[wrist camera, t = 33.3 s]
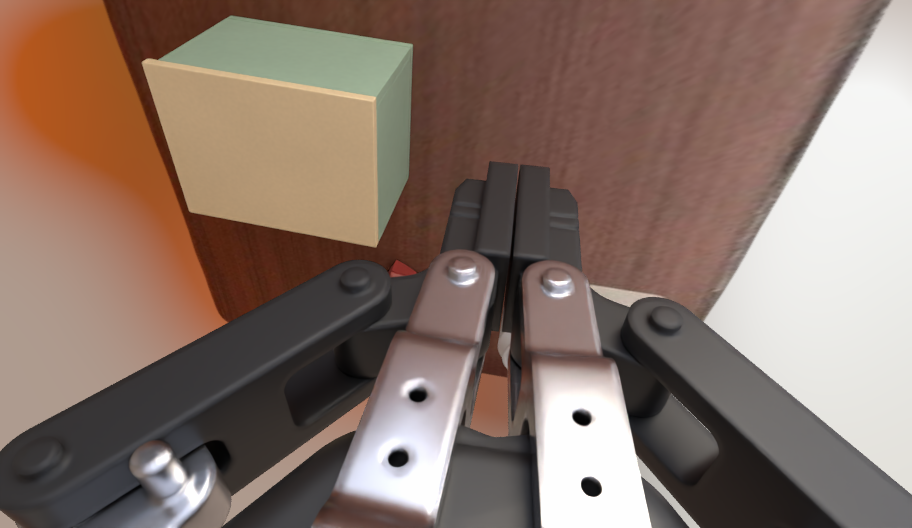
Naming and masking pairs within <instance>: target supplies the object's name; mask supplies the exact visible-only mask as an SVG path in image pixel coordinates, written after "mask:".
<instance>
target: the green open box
mask: <svg viewBox="0 0 912 528" xmlns="http://www.w3.org/2000/svg"><path fill="white" fill-rule="evenodd" d="M412 57H413V44H408V43H401V42H395V41H389V40H382V39H376V38H370V37H363V36H357V35H351V34H344V33H338V32H332V31H326V30H319V29H313V28H307V27H300V26H294V25H288V24H281V23H275V22H269V21H262V20H256V19H250V18H243V17H237V16H229V17H228V18H226V19H224V20H223V21H221V22H219V23H218V24H216V25H215V26H213V27H211V28H210V29H208V30H206V31H205V32H203V33H201V34H200V35H198V36H197V37H195V38H193V39H192V40H190V41H188V42H187V43H185V44H183V45H182V46H180V47H178V48H177V49H175V50H174V51H172V52H170V53H169V54H167V55H165V56H164V57H162V58H160V59H159V60H160V61H166V62H172V63H178V64H184V65H190V66H195V67H201V68H207V69H213V70H219V71H225V72H231V73H237V74H243V75H249V76H255V77H261V78H267V79H273V80H279V81H285V82H291V83H296V84H302V85H308V86H314V87H320V88H326V89H332V90H338V91H344V92H350V93H356V94H362V95H368V96H374V97H376V114H377V178H378V241H379V240H380V238H381V236H382V234H383V231H384V229H385V227H386V225H387V223H388V221H389V218H390V216H391V214H392V212H393V210H394V208H395V205H396V203H397V201H398V199H399V197H400V195H401V192H402V190H403V188H404V186H405V184H406V182H407V180H408V177H409V151H410V120H411V89H412Z"/></svg>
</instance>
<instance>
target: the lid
mask: <svg viewBox="0 0 912 528" xmlns="http://www.w3.org/2000/svg"><path fill="white" fill-rule="evenodd" d="M142 65H143V68H144V72H145V75H146V78H147V81H148V84H149V87H150V90H151V93H152V97H153V100H154V103H155V106H156V109H157V112H158V115H159V118H160V121H161V125H162V128H163V131H164V134H165V137H166V140H167V143H168V146H169V150H170V153H171V156H172V159H173V162H174V165H175V168H176V171H177V174H178V178H179V181H180V184H181V187H182V190H183V193H184V196H185V199H186V203H187V206H188V209H189V212H193V213H198V214H203V215H208V216H213V217H219V218H224V219H229V220H234V221H240V222H245V223H250V224H255V225H261V226H266V227H271V228H276V229H282V230H287V231H292V232H297V233H303V234H308V235H313V236H318V237H324V238H329V239H334V240H339V241H344V242H350V243H355V244H360V245H365V246H371V247H376V246H377V244H378V242H379V241H378V178H377V114H376V97H374V96H368V95H362V94H356V93H350V92H344V91H338V90H332V89H326V88H320V87H314V86H308V85H302V84H296V83H291V82H285V81H279V80H273V79H267V78H261V77H255V76H249V75H243V74H237V73H231V72H225V71H219V70H213V69H207V68H201V67H195V66H190V65H184V64H178V63H172V62H166V61H160V60H154V59H146V60H144V61H143V62H142Z"/></svg>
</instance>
